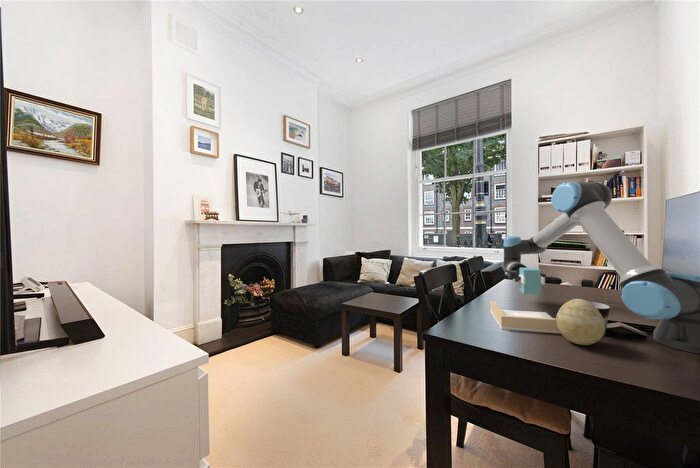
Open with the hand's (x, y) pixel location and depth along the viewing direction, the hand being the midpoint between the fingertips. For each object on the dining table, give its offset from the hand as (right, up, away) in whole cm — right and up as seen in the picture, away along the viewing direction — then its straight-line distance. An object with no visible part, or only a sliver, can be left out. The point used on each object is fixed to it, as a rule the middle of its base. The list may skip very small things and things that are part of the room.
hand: (533, 281), depth 113 cm
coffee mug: (+15, -18, -8) cm, 25 cm away
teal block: (+2, -6, +5) cm, 8 cm away
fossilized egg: (+4, -18, -17) cm, 26 cm away
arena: (-1, -17, +4) cm, 18 cm away
